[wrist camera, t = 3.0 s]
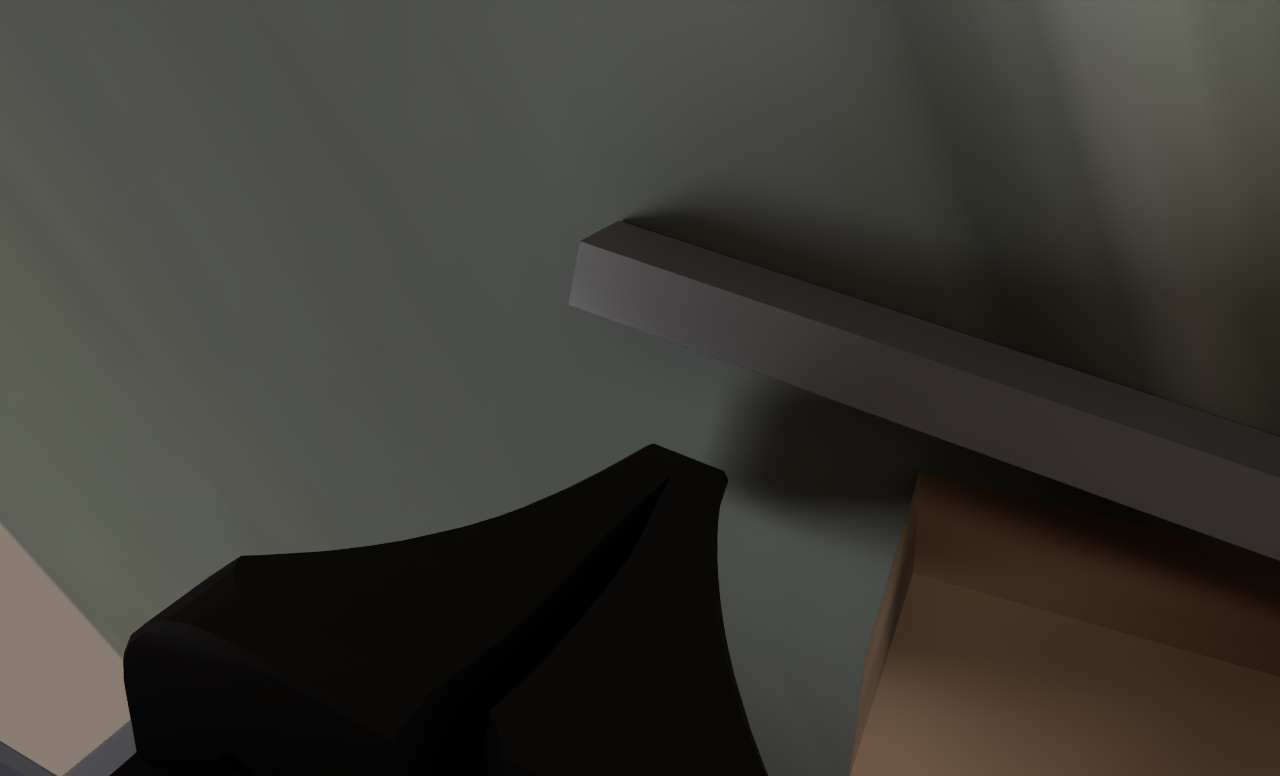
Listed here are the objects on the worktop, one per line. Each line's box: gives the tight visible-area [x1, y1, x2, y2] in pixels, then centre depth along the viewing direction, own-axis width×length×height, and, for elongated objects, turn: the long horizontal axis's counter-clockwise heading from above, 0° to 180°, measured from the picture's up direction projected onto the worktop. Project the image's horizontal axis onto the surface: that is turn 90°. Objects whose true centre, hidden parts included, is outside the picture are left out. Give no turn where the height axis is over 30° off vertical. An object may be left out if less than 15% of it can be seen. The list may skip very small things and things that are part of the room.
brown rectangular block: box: [849, 471, 1280, 776], centre depth 11 cm, size 8×4×3 cm, turn 85°
